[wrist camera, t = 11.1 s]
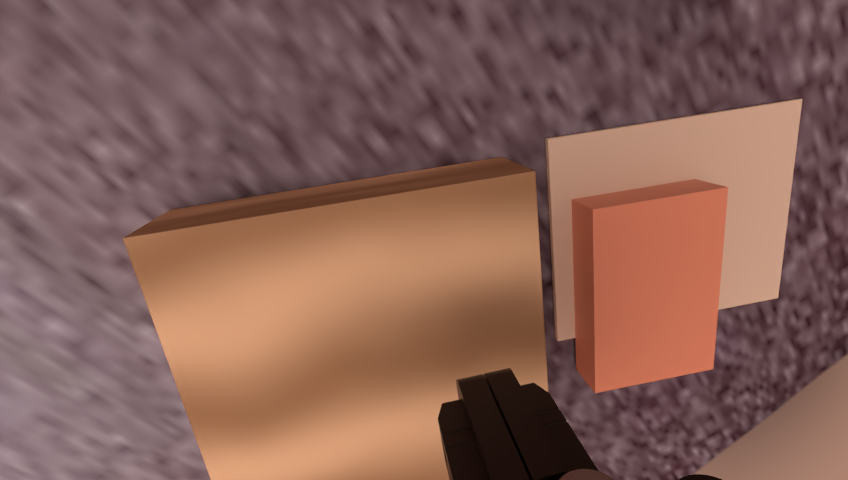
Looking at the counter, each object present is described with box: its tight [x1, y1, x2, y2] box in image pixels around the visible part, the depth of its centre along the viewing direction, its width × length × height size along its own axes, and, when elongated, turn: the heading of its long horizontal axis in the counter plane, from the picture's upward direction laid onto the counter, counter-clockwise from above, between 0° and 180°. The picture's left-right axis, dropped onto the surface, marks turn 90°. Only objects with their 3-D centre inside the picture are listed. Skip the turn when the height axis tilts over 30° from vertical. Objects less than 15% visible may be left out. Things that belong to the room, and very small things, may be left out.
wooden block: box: [123, 157, 548, 480], centre depth 19 cm, size 13×14×4 cm
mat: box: [545, 99, 802, 341], centre depth 22 cm, size 10×12×1 cm
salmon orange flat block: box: [571, 179, 728, 393], centre depth 21 cm, size 9×6×2 cm, turn 8°
